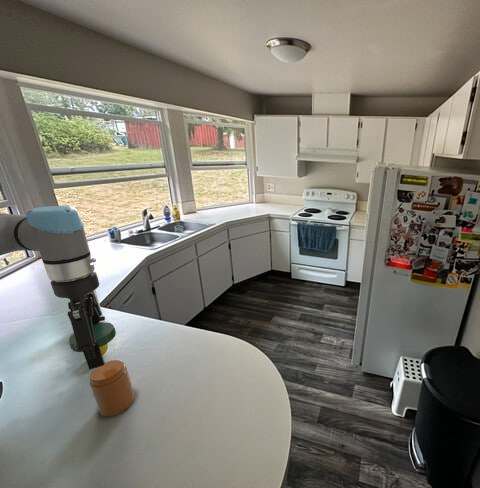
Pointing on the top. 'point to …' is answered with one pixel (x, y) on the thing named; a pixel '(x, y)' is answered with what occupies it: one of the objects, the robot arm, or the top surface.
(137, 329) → the top surface
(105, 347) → the lemon
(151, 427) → the top surface
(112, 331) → the jar lid
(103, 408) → the jam jar
